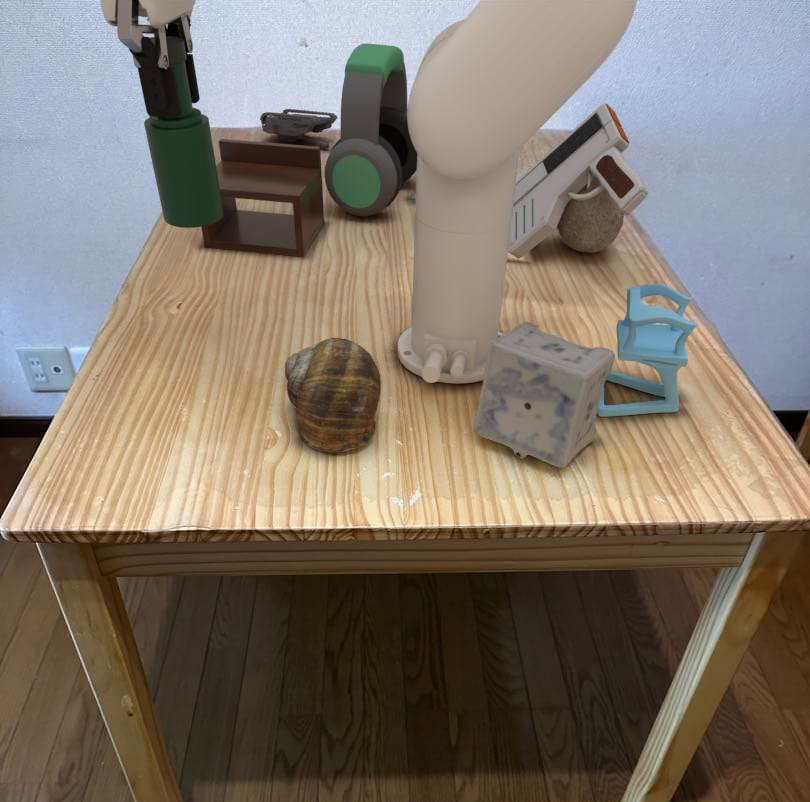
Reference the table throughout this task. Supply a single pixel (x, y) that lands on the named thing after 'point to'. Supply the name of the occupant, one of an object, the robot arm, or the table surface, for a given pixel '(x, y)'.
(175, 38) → the bottle
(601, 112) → the futuristic handgun
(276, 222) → the box
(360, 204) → the headphones
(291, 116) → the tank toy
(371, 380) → the seashell
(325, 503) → the table surface
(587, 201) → the decorative stone
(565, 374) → the incense holder
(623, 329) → the chair
